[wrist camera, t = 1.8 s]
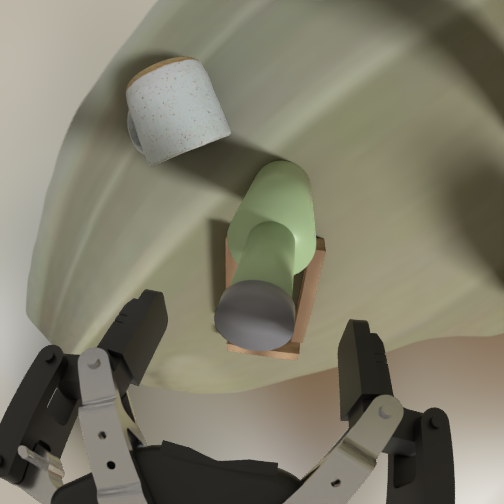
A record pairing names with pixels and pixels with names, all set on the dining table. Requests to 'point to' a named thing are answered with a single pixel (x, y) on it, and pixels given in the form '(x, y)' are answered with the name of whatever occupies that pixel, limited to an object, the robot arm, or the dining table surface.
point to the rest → (303, 306)
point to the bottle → (267, 258)
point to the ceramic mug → (173, 109)
